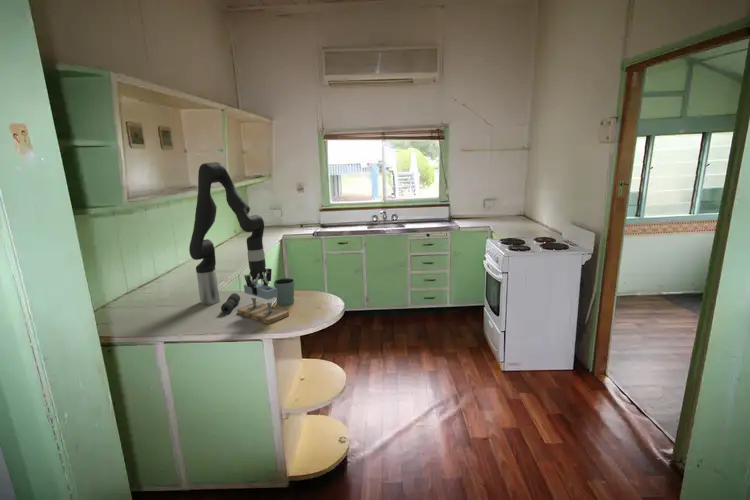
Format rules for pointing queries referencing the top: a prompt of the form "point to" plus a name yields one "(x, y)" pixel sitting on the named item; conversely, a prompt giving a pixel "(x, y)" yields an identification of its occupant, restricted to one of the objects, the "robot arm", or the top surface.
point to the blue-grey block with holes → (262, 291)
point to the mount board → (263, 312)
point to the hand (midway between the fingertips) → (260, 292)
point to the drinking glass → (284, 291)
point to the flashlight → (230, 303)
